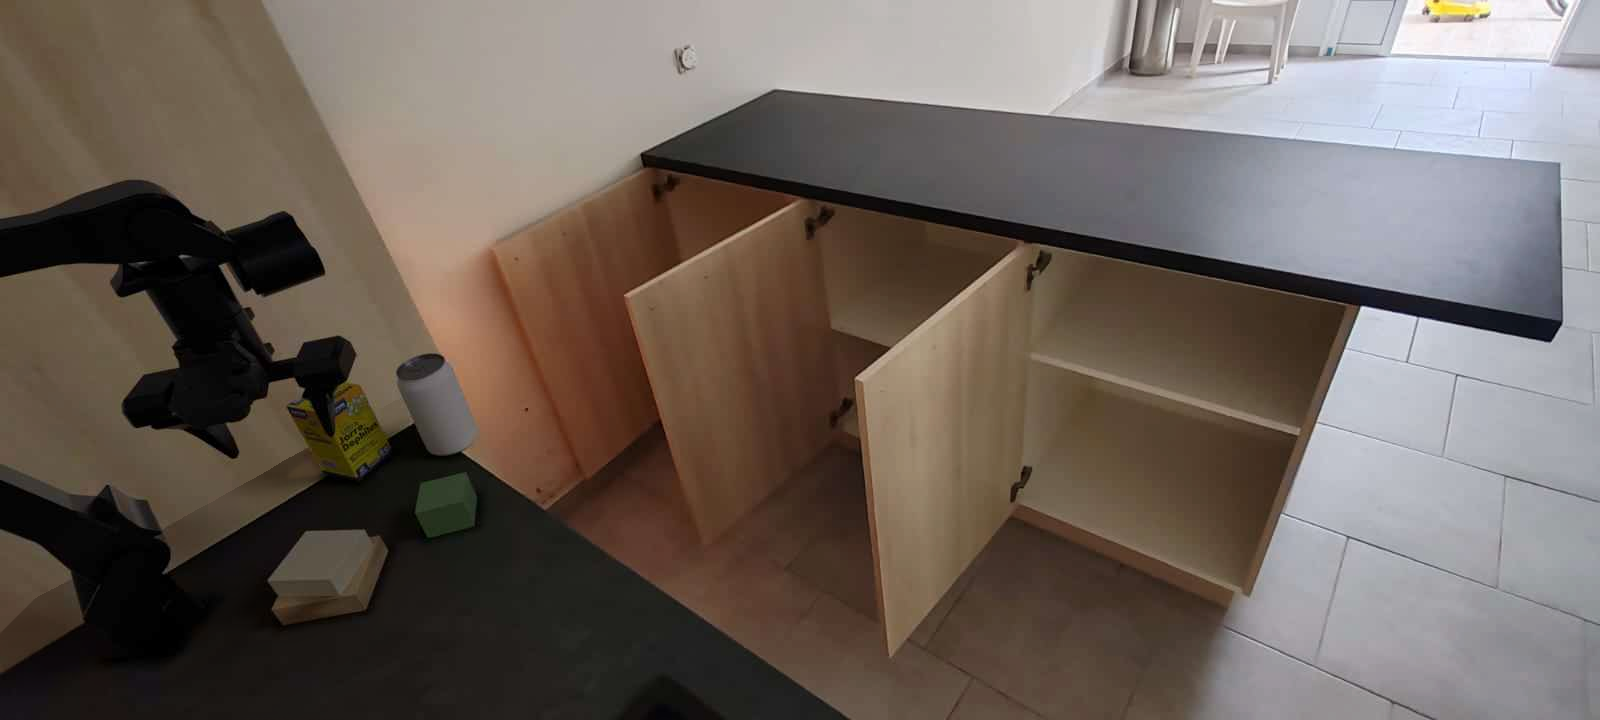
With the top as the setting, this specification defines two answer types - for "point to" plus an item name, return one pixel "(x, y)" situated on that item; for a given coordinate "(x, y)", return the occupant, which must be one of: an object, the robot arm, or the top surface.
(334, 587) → the cream middle block
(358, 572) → the birch base block
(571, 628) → the top surface
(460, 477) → the green block
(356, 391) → the supplement box
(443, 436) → the can
